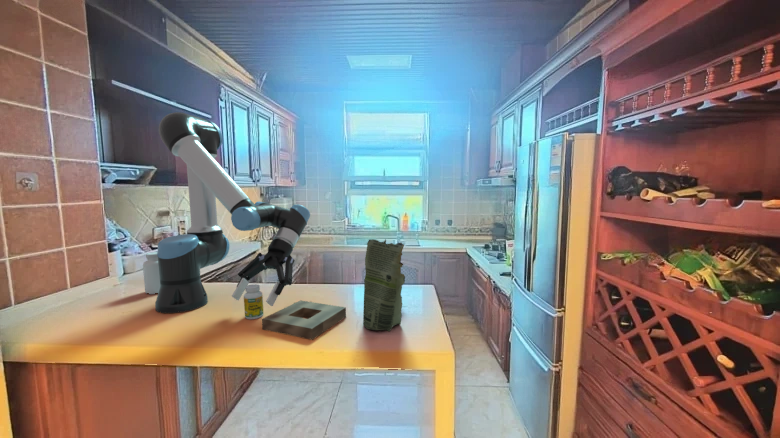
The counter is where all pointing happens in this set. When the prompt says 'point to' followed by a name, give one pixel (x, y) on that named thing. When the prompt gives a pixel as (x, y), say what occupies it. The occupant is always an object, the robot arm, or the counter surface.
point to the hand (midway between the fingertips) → (251, 301)
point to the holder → (296, 325)
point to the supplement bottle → (253, 302)
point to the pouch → (383, 285)
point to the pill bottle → (151, 273)
